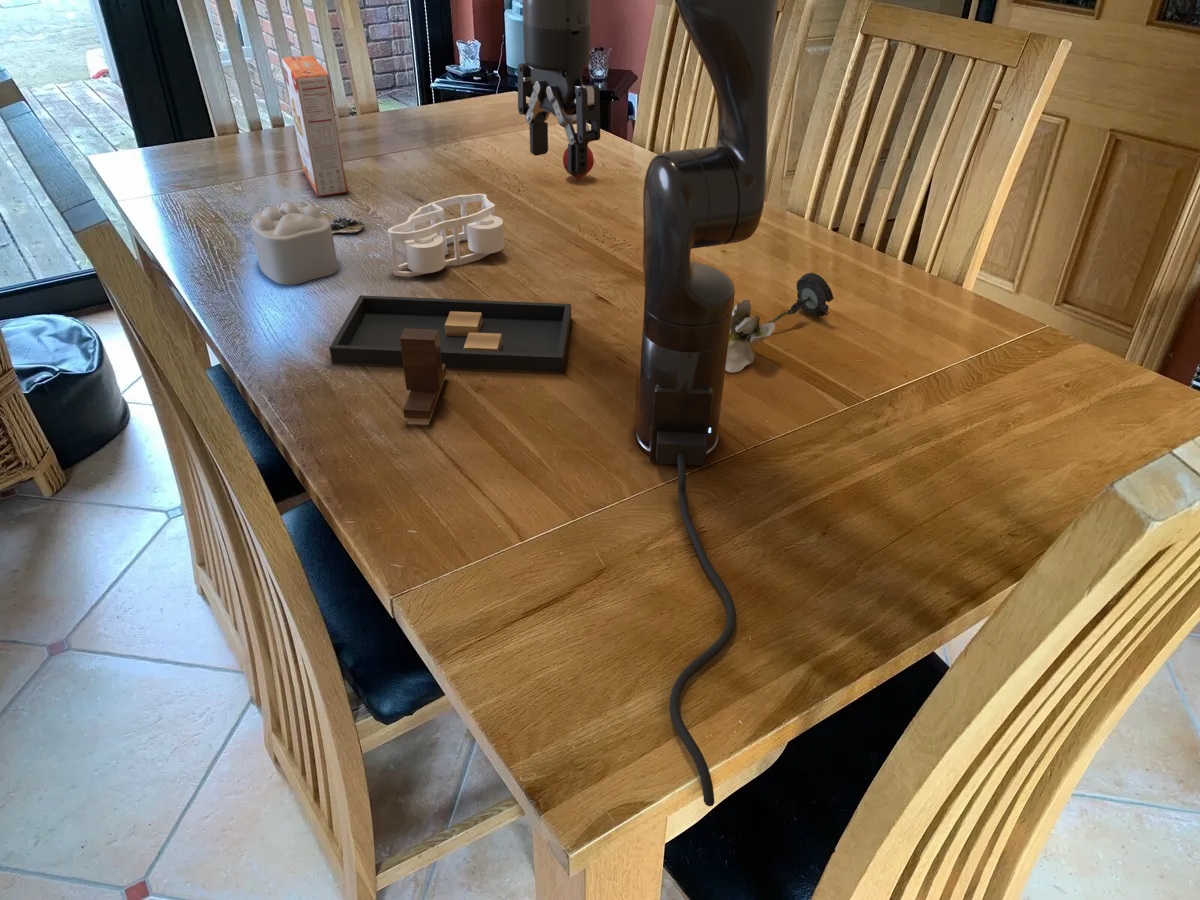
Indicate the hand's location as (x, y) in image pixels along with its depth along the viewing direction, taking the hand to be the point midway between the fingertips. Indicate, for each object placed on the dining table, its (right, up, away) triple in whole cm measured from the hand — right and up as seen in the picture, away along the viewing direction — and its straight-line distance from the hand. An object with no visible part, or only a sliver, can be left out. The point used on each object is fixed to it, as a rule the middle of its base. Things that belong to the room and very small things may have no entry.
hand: (557, 163), depth 109 cm
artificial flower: (+28, -20, +13) cm, 37 cm away
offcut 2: (-10, -22, +8) cm, 25 cm away
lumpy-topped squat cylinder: (-42, -6, +29) cm, 52 cm away
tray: (-14, -21, +11) cm, 27 cm away
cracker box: (-46, +15, +58) cm, 75 cm away
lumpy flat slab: (-38, +2, +41) cm, 56 cm away
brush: (-16, -29, -1) cm, 33 cm away
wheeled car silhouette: (-19, -5, +32) cm, 38 cm away
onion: (+1, +17, +62) cm, 64 cm away
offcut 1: (-13, -18, +13) cm, 26 cm away
